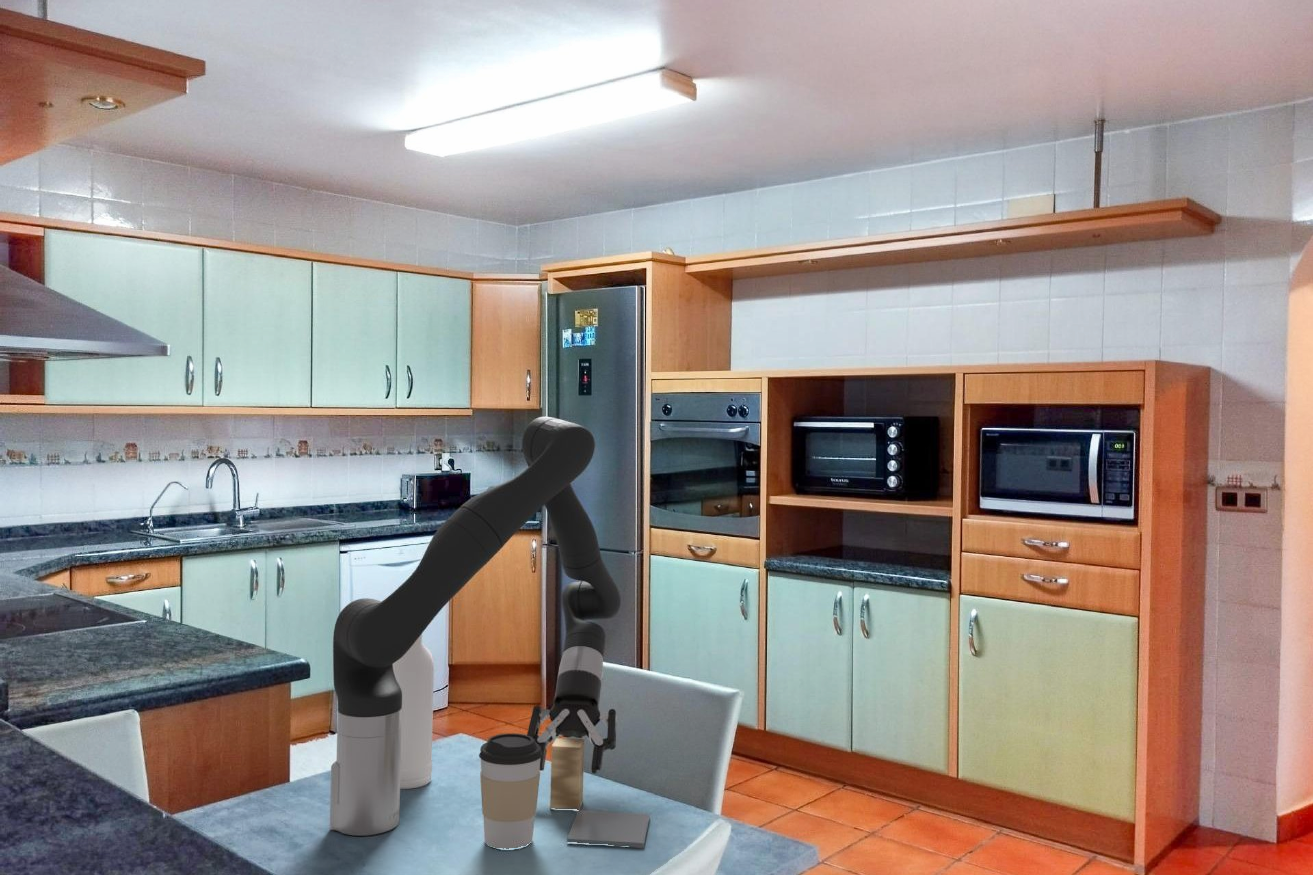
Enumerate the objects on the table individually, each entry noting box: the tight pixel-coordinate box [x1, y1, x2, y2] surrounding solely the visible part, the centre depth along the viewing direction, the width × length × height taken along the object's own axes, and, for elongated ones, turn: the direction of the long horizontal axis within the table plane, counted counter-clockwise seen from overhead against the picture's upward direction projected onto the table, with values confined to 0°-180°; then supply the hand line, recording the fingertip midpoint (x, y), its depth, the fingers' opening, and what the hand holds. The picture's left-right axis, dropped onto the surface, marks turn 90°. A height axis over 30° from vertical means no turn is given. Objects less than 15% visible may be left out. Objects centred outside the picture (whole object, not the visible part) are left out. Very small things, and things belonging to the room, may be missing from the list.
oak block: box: [549, 737, 585, 810], centre depth 161 cm, size 4×4×10 cm
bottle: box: [393, 633, 435, 790], centre depth 170 cm, size 8×8×30 cm
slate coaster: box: [566, 809, 650, 849], centre depth 151 cm, size 11×11×1 cm
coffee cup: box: [478, 732, 542, 849], centre depth 147 cm, size 9×9×15 cm
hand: (567, 769), depth 161 cm, fingers open, 8 cm apart
